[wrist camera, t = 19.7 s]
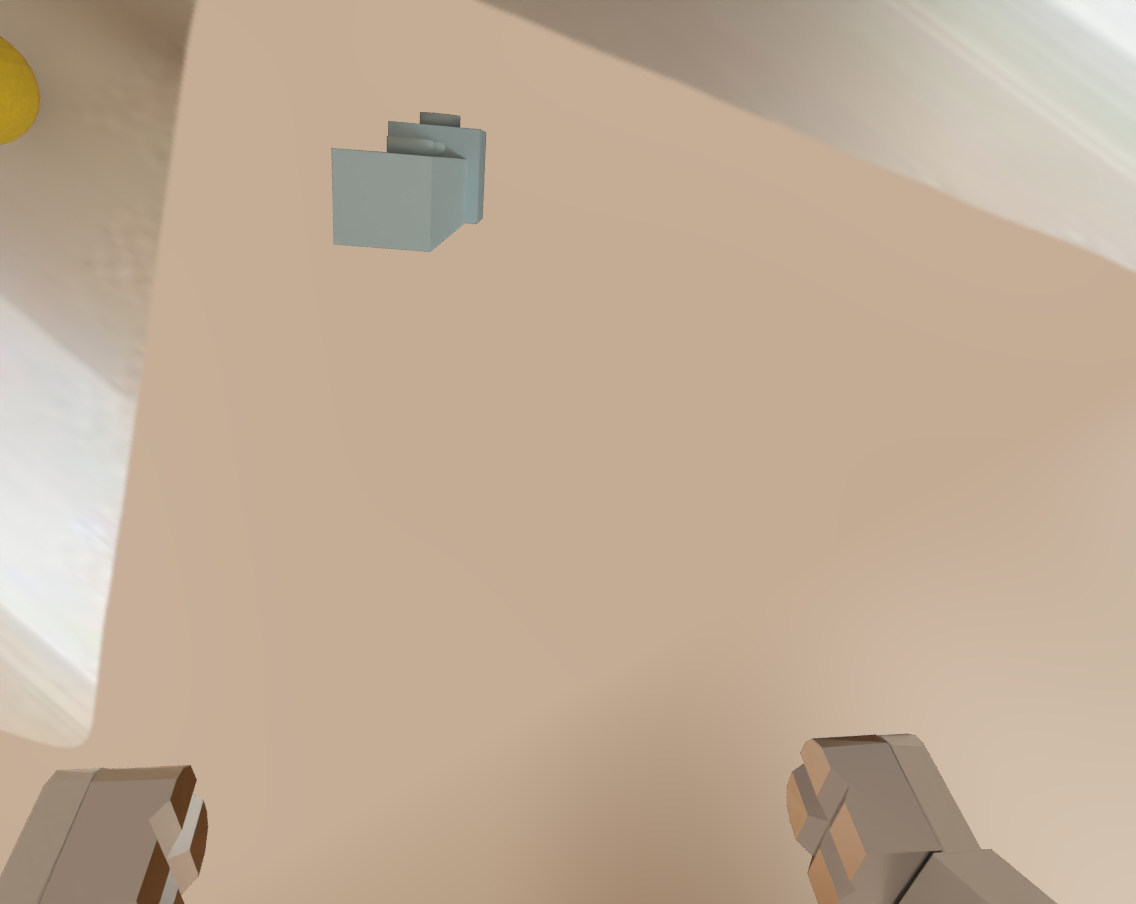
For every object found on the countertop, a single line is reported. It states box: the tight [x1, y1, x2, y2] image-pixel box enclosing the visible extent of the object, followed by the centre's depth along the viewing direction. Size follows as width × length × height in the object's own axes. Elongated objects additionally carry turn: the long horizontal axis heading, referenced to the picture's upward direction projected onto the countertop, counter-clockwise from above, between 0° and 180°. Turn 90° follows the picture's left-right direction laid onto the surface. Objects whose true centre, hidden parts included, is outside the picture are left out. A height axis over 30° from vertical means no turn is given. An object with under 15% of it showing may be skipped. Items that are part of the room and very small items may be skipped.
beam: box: [332, 112, 486, 252], centre depth 34 cm, size 4×18×5 cm
